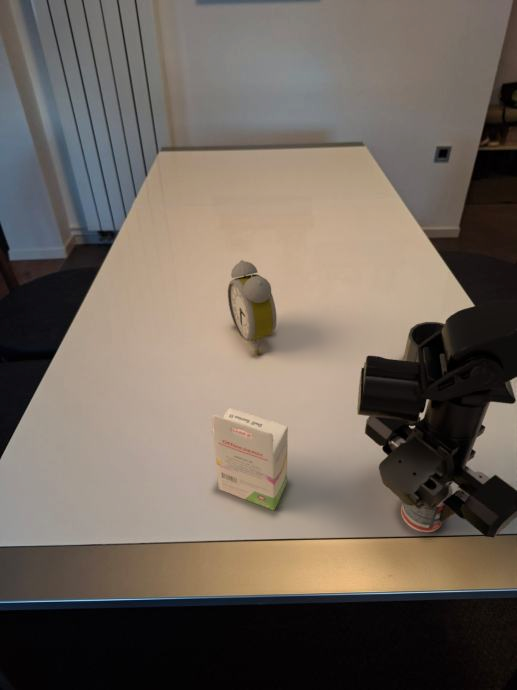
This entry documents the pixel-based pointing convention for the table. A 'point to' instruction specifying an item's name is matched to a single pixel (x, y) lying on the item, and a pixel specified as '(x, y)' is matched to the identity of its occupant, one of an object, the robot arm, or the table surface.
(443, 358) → the pen holder
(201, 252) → the table surface
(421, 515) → the pill bottle
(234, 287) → the alarm clock
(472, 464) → the table surface
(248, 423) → the white medicine box
